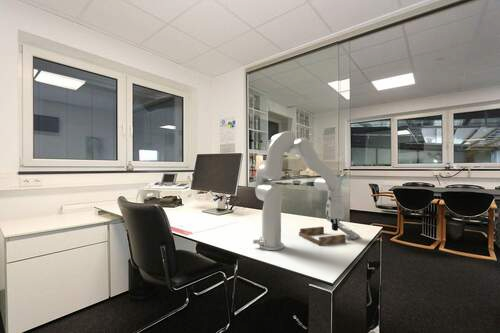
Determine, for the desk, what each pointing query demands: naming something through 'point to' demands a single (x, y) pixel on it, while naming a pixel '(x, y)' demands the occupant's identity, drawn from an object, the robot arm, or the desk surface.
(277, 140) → the robot arm
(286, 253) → the desk surface
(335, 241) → the walnut open frame
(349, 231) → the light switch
